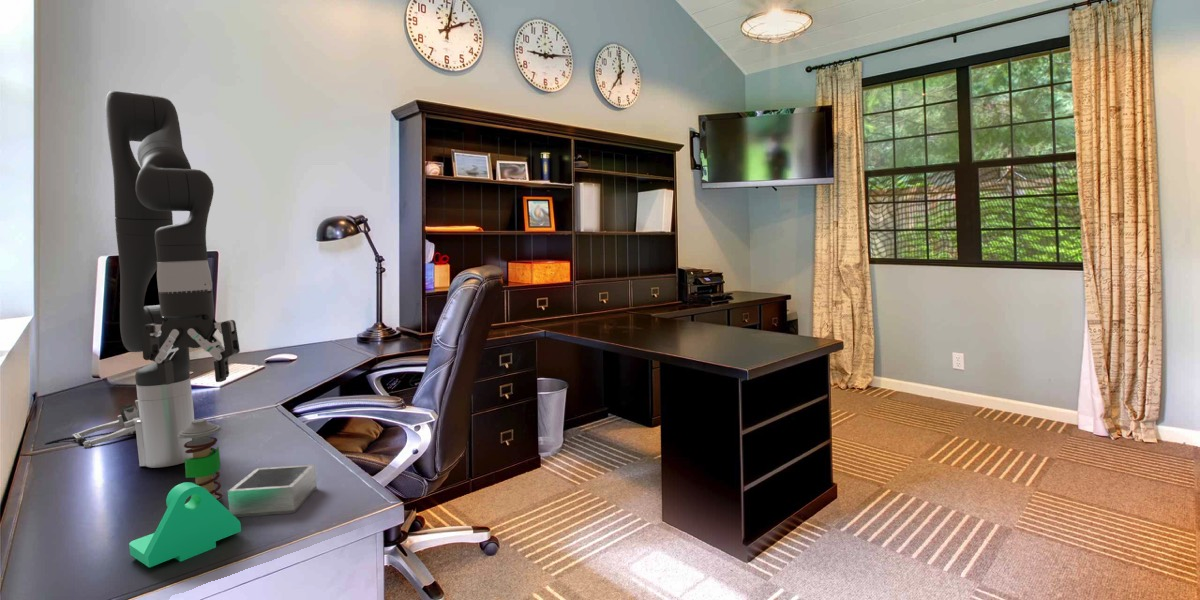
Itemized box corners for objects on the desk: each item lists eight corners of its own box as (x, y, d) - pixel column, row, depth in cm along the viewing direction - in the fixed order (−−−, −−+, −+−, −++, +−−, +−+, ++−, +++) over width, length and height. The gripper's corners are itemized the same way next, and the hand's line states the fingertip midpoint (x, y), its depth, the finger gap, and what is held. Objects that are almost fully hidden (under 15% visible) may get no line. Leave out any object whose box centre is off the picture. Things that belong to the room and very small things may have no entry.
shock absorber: (218, 493, 109) (211, 413, 107) (234, 501, 105) (227, 418, 104) (178, 506, 104) (169, 422, 102) (193, 515, 100) (185, 428, 98)
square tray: (230, 517, 99) (227, 491, 98) (258, 492, 109) (256, 468, 108) (294, 512, 100) (292, 487, 99) (316, 488, 110) (314, 464, 109)
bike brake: (148, 419, 156) (48, 453, 141) (141, 395, 155) (39, 426, 140) (164, 429, 148) (60, 466, 133) (157, 404, 146) (50, 438, 131)
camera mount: (218, 526, 96) (212, 464, 95) (241, 538, 92) (235, 473, 91) (128, 560, 86) (120, 491, 85) (150, 575, 82) (142, 503, 81)
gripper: (125, 291, 96) (136, 390, 98) (218, 288, 98) (227, 385, 99) (154, 288, 104) (164, 380, 105) (241, 285, 105) (249, 375, 107)
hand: (195, 382), depth 102 cm, fingers open, 8 cm apart
